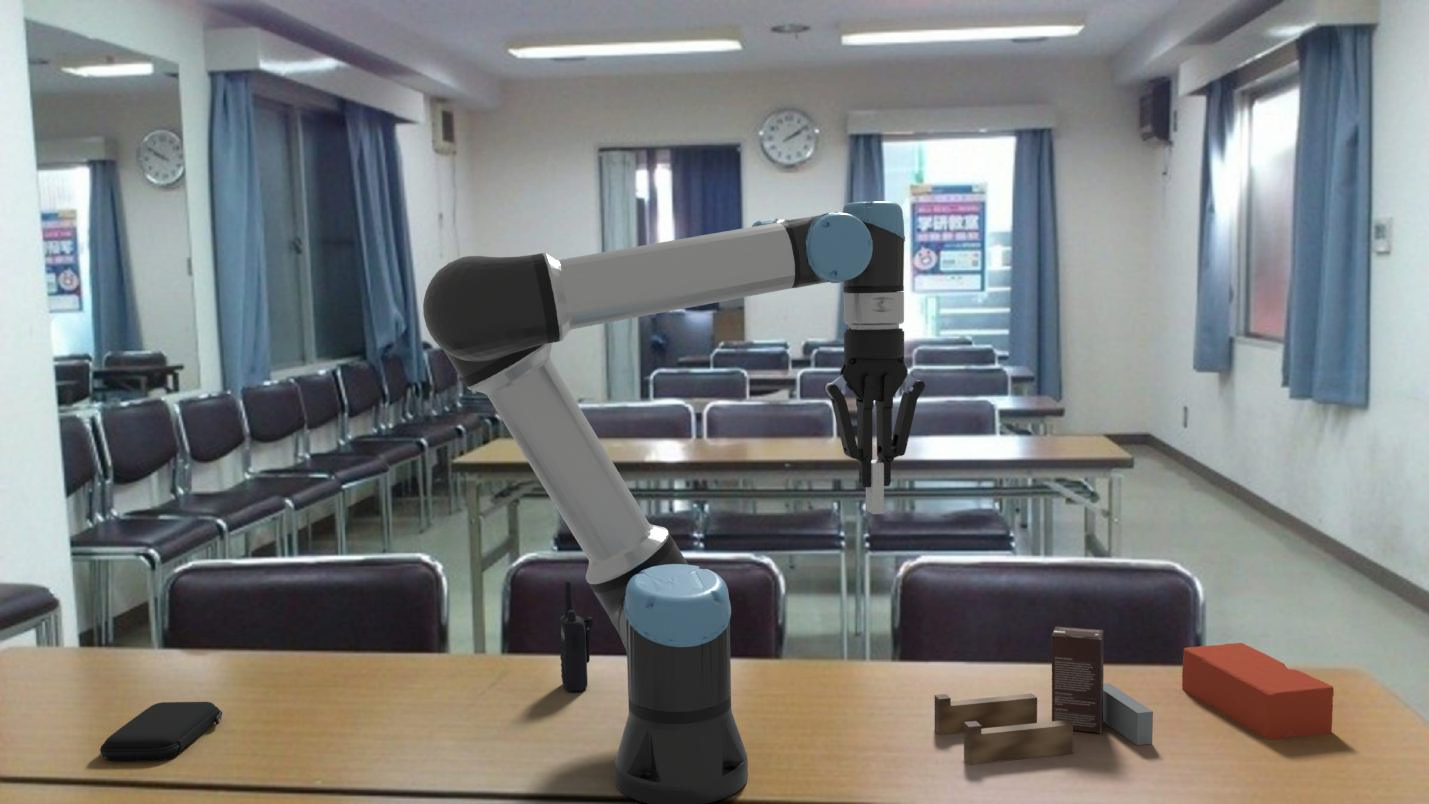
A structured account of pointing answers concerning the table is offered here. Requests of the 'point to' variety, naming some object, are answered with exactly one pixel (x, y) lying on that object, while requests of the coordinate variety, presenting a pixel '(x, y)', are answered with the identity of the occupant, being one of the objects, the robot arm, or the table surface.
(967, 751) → the brown piece
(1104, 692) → the end stop
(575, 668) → the two-way radio
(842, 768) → the table surface
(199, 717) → the carrying case or bag
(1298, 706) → the brick
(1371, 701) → the table surface
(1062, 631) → the box
